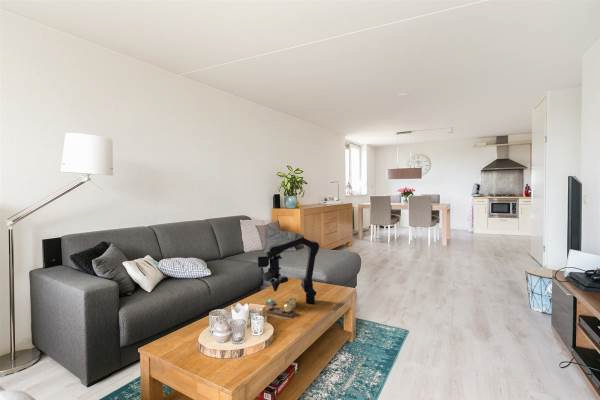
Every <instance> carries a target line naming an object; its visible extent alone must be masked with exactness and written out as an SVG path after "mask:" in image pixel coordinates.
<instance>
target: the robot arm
mask: <svg viewBox="0 0 600 400" xmlns="http://www.w3.org/2000/svg"><path fill="white" fill-rule="evenodd" d="M300 245H304V246H306V247H307V252H308V257H307V265H306V269H305V276H304V278H301V283H300V287H301V289H302V290H303V291H304V293H305V302H304V304H307V305H313V306H315V304H317V301H316V296H317V293H318V292H317V291H316V290H315V288H314V283H313V282H314V281H313V274H314V267H315V261H316V256H317V254H318V252H319V249H320V244H319V243H318V242H317V241H315V240H309V239H307V238H305V237H304V236H299V237H296V238H293V239H291V240H289V241H286V242H284V243H277V244H272V245H270V246H269V248H268V251H267V252H266V254H265V255H259V256H257V262H256V265H257V268H258V269H260V268H268V266H269V268H268V269H267V271H266V272H263V273H262V274H261V277H262V280H263V281H265V282H270V284H271V286H272V289H273V292H277V291H278V288H279V286H280V284H284V283H287V282H289V277H288V276H285V275H282V274H281V273H280V270H281V269H282V268H281V267H280V260H282V259H283V257H282V256H281V255H280V254H282V253H283V252H284V251H287V250H289V249H291V248H294V247H297V246H300Z"/></svg>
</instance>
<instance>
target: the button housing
mask: <svg viewBox="0 0 600 400" xmlns="http://www.w3.org/2000/svg"><path fill="white" fill-rule="evenodd" d="M276 303H277V302H276V300H273V302H272V303H269V302H268V300H267V301H265V306H268V307H274V305H276Z"/></svg>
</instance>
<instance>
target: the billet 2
mask: <svg viewBox="0 0 600 400" xmlns="http://www.w3.org/2000/svg"><path fill="white" fill-rule="evenodd" d="M296 301H297V299H296V297H289V298H288V303H291V310H293V309H296V308H297V302H296Z"/></svg>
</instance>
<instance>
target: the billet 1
mask: <svg viewBox="0 0 600 400" xmlns="http://www.w3.org/2000/svg"><path fill="white" fill-rule="evenodd" d="M283 309H284V314H288V315H290V314H291V310H292V309H291V303H289V302H286V303H283Z"/></svg>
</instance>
